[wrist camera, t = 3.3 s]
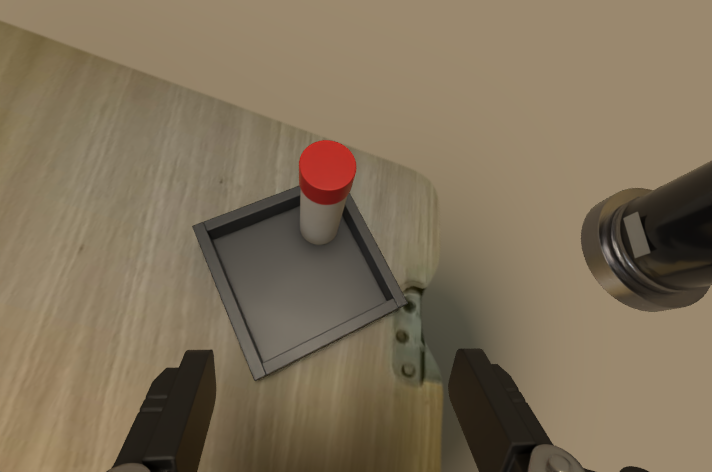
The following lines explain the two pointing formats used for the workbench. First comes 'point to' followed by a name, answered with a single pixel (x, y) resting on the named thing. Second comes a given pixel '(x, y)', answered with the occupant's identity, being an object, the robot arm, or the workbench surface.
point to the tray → (294, 280)
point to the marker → (324, 189)
